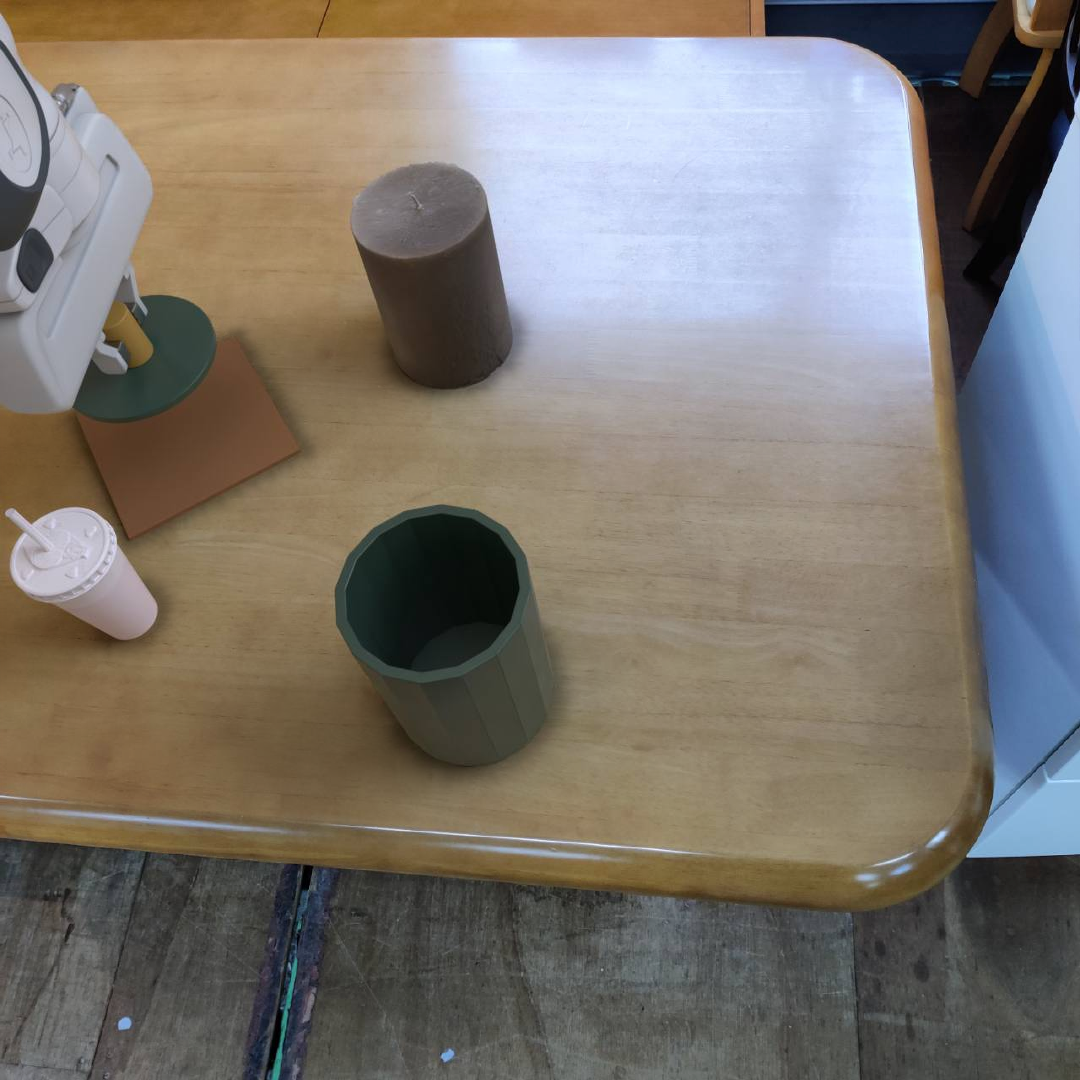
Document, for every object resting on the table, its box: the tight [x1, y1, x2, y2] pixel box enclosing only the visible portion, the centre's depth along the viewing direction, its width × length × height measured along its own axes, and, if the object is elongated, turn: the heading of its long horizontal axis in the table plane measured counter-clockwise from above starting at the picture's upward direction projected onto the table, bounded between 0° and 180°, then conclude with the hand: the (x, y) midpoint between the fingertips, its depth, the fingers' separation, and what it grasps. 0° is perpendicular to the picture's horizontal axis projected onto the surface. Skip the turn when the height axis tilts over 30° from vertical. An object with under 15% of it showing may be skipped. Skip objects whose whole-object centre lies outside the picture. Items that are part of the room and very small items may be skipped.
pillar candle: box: [349, 161, 514, 390], centre depth 70 cm, size 10×10×15 cm
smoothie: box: [5, 506, 158, 641], centre depth 61 cm, size 6×6×14 cm
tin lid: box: [72, 294, 218, 423], centre depth 66 cm, size 11×11×5 cm
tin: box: [334, 503, 555, 767], centre depth 55 cm, size 10×10×14 cm
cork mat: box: [75, 335, 302, 542], centre depth 75 cm, size 14×14×1 cm
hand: (127, 344), depth 66 cm, fingers closed on tin lid, 2 cm apart
